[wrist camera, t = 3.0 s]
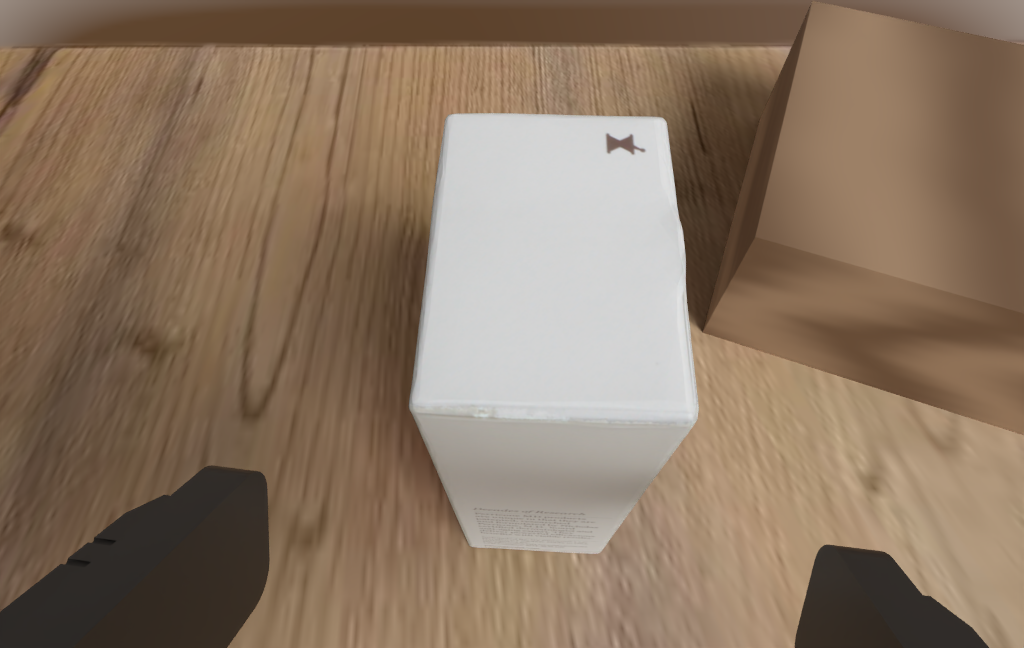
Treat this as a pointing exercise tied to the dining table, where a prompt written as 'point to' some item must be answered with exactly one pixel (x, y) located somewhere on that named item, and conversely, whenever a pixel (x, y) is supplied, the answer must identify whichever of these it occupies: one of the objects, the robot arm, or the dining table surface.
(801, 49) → the walnut block
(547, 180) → the skincare box
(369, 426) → the dining table surface
